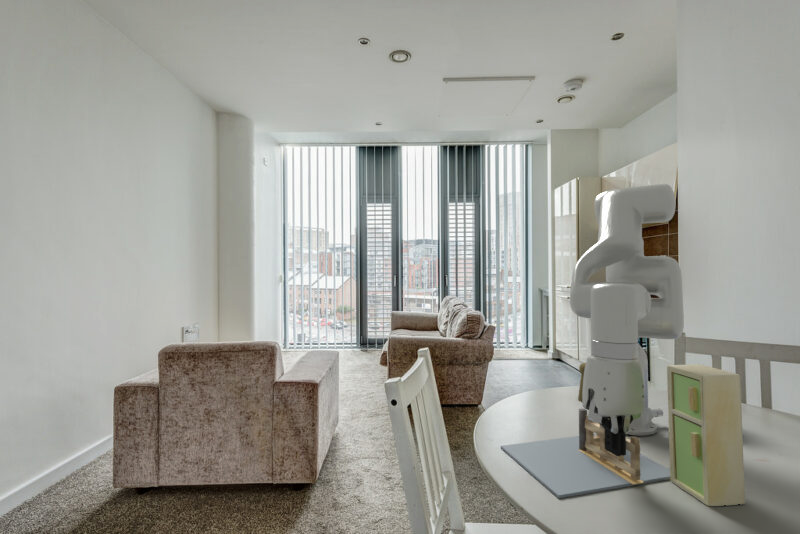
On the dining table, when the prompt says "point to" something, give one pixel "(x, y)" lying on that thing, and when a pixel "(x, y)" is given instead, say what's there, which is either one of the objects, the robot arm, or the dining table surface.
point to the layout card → (578, 467)
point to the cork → (581, 369)
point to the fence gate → (605, 455)
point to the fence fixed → (583, 430)
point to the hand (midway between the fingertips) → (615, 452)
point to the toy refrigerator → (706, 433)
